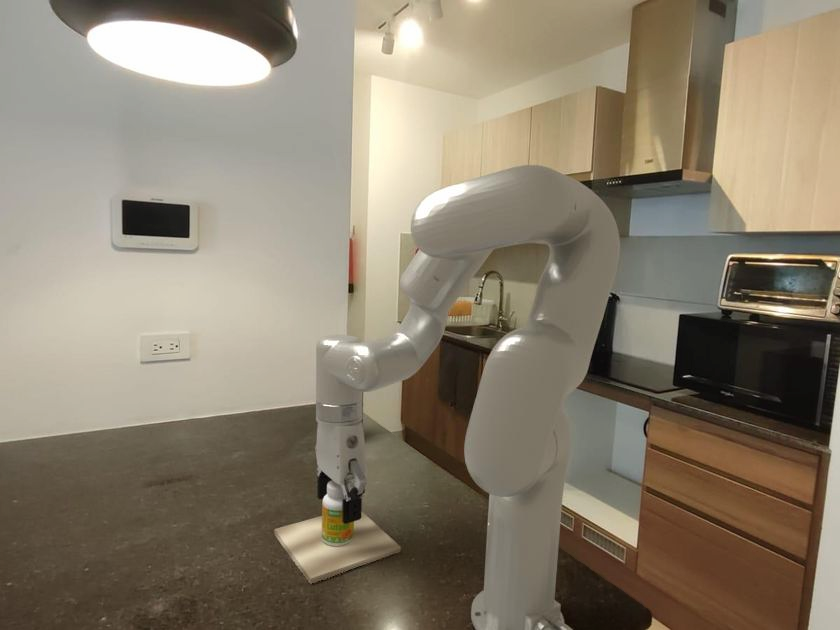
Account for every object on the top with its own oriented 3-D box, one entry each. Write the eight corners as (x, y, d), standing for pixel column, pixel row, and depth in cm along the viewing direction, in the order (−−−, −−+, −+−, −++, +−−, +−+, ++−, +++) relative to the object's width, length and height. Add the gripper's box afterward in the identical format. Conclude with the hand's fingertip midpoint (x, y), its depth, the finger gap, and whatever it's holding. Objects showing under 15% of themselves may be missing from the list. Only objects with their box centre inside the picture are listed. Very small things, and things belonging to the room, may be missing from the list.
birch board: (400, 552, 86) (400, 547, 86) (310, 584, 77) (310, 578, 77) (356, 511, 99) (356, 506, 99) (274, 534, 90) (274, 529, 90)
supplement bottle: (322, 548, 85) (324, 492, 84) (320, 531, 90) (321, 478, 89) (355, 545, 86) (357, 490, 85) (351, 528, 91) (353, 476, 90)
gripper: (385, 421, 80) (383, 525, 82) (337, 394, 95) (336, 484, 97) (341, 429, 76) (341, 538, 78) (297, 400, 90) (298, 493, 92)
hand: (338, 508), depth 87 cm, fingers open, 9 cm apart
